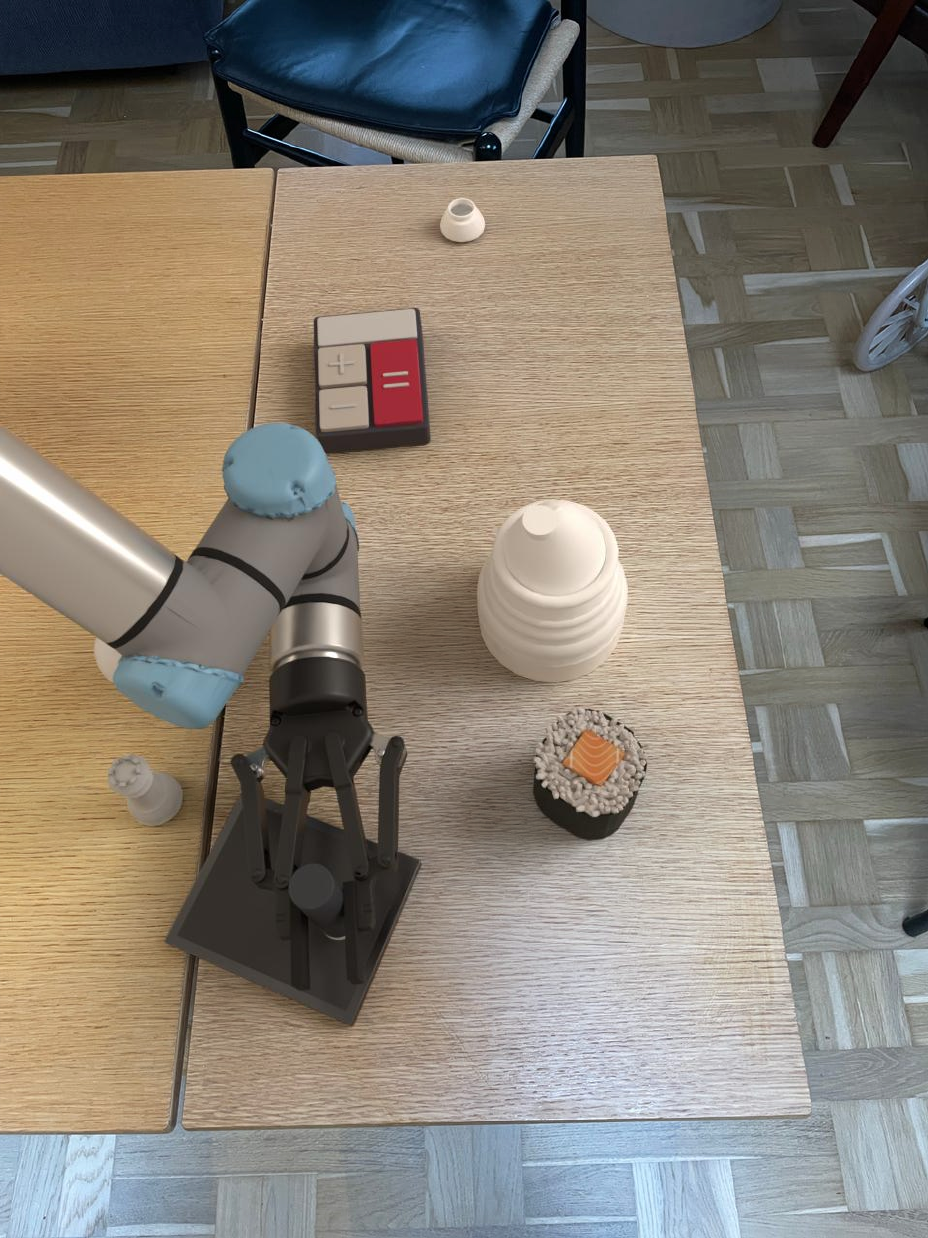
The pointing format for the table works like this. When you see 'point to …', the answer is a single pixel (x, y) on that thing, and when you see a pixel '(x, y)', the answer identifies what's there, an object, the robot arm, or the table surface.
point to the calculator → (370, 381)
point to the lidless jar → (462, 221)
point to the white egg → (106, 658)
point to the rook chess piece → (145, 790)
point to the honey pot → (552, 592)
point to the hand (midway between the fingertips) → (328, 984)
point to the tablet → (245, 916)
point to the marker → (319, 899)
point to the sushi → (588, 773)
